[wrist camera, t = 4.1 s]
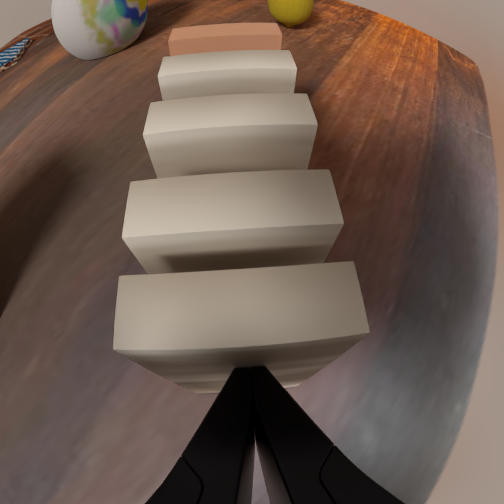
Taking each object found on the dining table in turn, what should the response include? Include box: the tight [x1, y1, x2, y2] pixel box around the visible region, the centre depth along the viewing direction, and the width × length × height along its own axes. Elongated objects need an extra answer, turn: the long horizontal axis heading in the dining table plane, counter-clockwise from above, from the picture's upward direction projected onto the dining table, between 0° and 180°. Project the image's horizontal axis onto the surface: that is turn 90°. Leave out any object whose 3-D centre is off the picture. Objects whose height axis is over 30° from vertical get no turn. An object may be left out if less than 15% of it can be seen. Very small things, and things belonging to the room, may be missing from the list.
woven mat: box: [0, 38, 32, 72], centre depth 33 cm, size 10×11×2 cm
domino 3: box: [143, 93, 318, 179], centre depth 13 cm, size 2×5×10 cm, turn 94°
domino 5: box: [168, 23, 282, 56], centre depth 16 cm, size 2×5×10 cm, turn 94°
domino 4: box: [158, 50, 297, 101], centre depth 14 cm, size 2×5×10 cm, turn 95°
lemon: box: [268, 0, 314, 28], centre depth 28 cm, size 6×6×8 cm
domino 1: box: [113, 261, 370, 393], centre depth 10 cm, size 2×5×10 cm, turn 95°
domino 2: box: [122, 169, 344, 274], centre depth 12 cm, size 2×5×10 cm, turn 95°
